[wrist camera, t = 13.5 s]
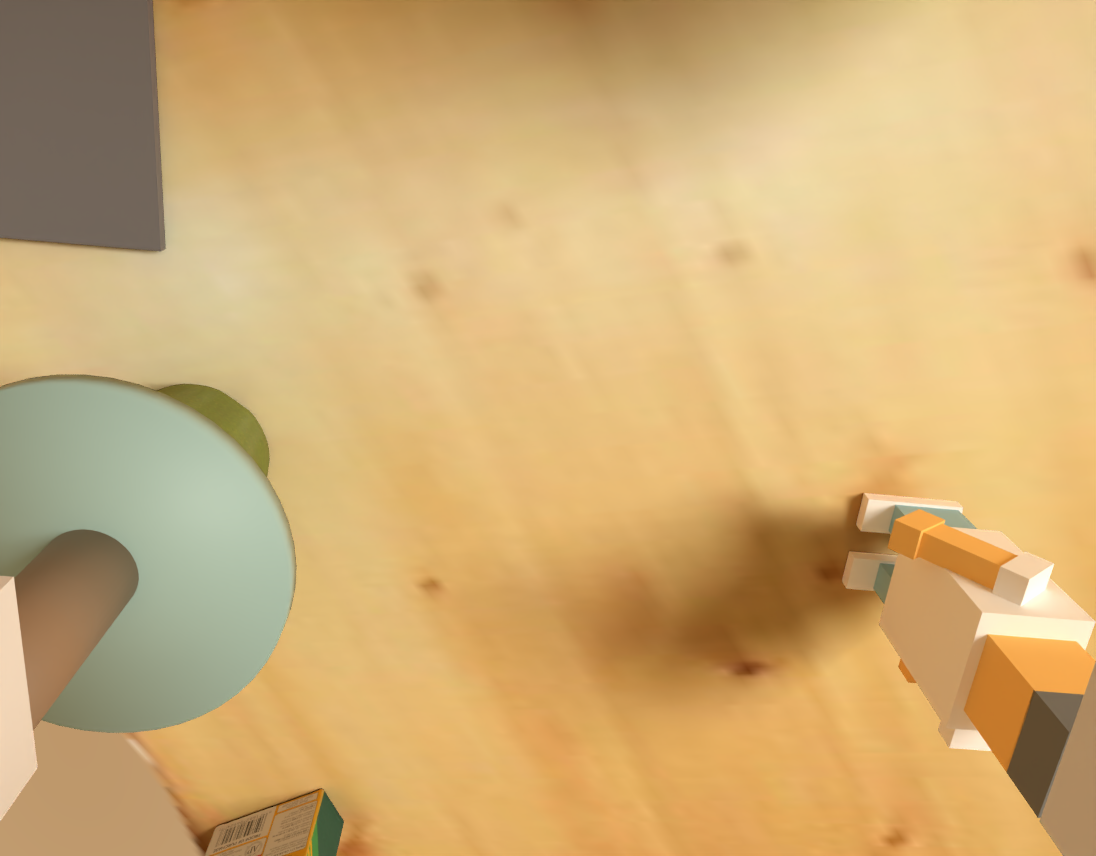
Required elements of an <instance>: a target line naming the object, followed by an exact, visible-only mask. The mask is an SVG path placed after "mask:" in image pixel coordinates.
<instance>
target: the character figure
mask: <svg viewBox="0 0 1096 856" xmlns="http://www.w3.org/2000/svg"><path fill="white" fill-rule="evenodd" d="M962 511H963V507H962V506H961V505H960V504H959V503H958V502H957V501H948V500H937V499H926V498H915V497H904V496H893V495H882V494H870V493H864V494H863V498H862V502H861V506H860V510H859V514H858V518H857V522H856V525H857V527H858V528H859V529H860V531H864V532H875V533H887V534H891V536H890V540H889V544H888V548H889V549H891V550H893V551H895V552H897V553H898V555H889V554H877V553H865V552H854V551H849V554H848V558H847V562H846V566H845V570H844V574H843V578H842V582H843V584H844V586H845V587H846V589H857V590H869V591H876V593H877V594H878V596H879V597H880V599H881V600H882V602H883V603H884V607H883V611H882V614H881V618H880V622H879V626H880V627H881V629H882V630H883V632H884V633H885V635H886V636H887V638H888V639H889V641H890V643H891V644H892V646H893V647H894V649H895V650H896V652H897V653H898V655H899V656H900V658H901V659H900V663H899V666H898V667H899V669H900V670H901V672H902V673H903V675H904V676H905V678H906V680H907V681H908V682H910V683H917V684H918V686H919V687H920V689H921V690H922V692H923V694H924V695H925V697H926V698H927V700H928V701H929V703H930V704H931V706H932V707H933V709H934V711H935V712H936V714H937V715H938V717H939V718H940V720H941V722H940V725H939V728H938V731H939V732H940V734H941V736H942V737H943V739H944V740H945V742H946V744H947V745H948V747H949V748H957V749H971V750H985V751H992V752H993V753H994V755H995V756H996V758H997V759H998V761H999V762H1000V764H1001V765H1002V766H1003V768H1004V769H1005V771H1006V772H1007V774H1008V775H1009V777H1010V778H1011V779H1012V781H1013V782H1014V784H1015V785H1016V787H1017V788H1018V790H1019V791H1020V792H1021V794H1022V795H1023V797H1024V798H1025V800H1026V801H1027V803H1028V804H1029V805H1030V807H1031V808H1032V810H1033V811H1034V813H1035V814H1036V816H1037V817H1038V818H1041V815H1042V813H1043V810H1044V807H1045V804H1046V801H1047V798H1048V796H1049V793H1050V790H1051V787H1052V784H1053V781H1054V778H1055V776H1056V773H1057V770H1058V767H1059V764H1060V761H1061V759H1062V756H1063V753H1064V750H1065V747H1066V744H1067V742H1068V739H1069V736H1070V733H1071V730H1072V727H1073V724H1074V722H1075V719H1076V716H1077V713H1078V710H1079V707H1080V705H1081V702H1082V699H1083V696H1084V693H1085V690H1086V688H1087V685H1088V682H1089V679H1090V676H1091V673H1092V671H1093V668H1094V665H1095V662H1096V661H1095V660H1094V659H1093V658H1092V657H1091V656H1090V655H1089V654H1088V653H1087V652H1086V651H1085V649H1086V647H1087V644H1088V641H1089V638H1090V636H1091V633H1092V630H1093V627H1094V625H1095V621H1094V620H1093V619H1092V618H1091V617H1090V616H1089V615H1088V614H1087V613H1086V612H1085V611H1084V610H1083V609H1082V608H1081V607H1080V606H1079V605H1078V604H1077V603H1076V602H1074V601H1073V600H1072V599H1071V598H1070V597H1069V596H1068V595H1067V594H1066V593H1065V592H1064V591H1063V590H1062V589H1061V588H1060V587H1059V586H1058V585H1057V584H1056V583H1055V582H1054V581H1053V580H1052V579H1050V578H1049V577H1050V574H1051V571H1052V568H1053V566H1054V563H1052V562H1049V561H1047V560H1045V559H1042V558H1040V557H1038V556H1035V555H1033V554H1030V553H1028V552H1024V553H1023V552H1022V551H1021V550H1020V549H1019V548H1018V547H1017V546H1016V545H1015V544H1014V543H1013V542H1012V541H1011V540H1010V539H1009V538H1008V537H1007V536H1006V535H1005V534H1003V533H1002V532H1001V531H991V530H980V529H977V528H976V527H975V526H974V525H973V524H972V523H971V522H970V521H969V520H968V519H967V518H966V517H965V516H964V515H963V514H962Z"/></svg>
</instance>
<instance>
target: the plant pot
mask: <svg viewBox="0 0 1096 856" xmlns="http://www.w3.org/2000/svg"><path fill="white" fill-rule="evenodd" d="M158 392H161V393H163V394H166V395H168V396H170V397H172V398H174V399H176V400H178V401H180V402H182V403H184V404H186V405H188V406H190V407H191V408H193V409H195V410H196V411H198V412H199V413H201V414H202V415H204V416H205V417H207V418H208V419H210V420H211V421H213V422H214V423H215V424H217V425H218V426H219V427H220V428H222V429H223V430H224V431H225V432H226V433H228V434H229V435H230V436H231V437H232V438H234V439H235V440H236V441H237V442H238V443H239V445H240V446H241V447H242V448H243V449H244V450H245V451H246V452H247V453H248V454H249V455H250V456H251V457H252V458H253V460H254V461H255V462H256V464H257V465H258V466H259V468H260V469H261V470H262V472H263V473H264V474H265V476H266V477H267V474H268V467H269V448H268V443H267V440H266V437H265V435H264V432H263V430H262V428H261V426H260V425H259V423H258V421H257V420H256V418H255V417H254V416H253V415H252V413H251V412H250V411H249V410H247V409H246V408H244V407H243V406H242V405H240V404H239V403H238V402H236V401H235V400H233V399H232V398H230V397H229V396H228V395H226V394H224V393H223V392H221V391H219V390H217V389H214V388H211V387H207V386H202V385H194V384H182V385H174V386H170V387H166V388H163V389H161V390H158Z"/></svg>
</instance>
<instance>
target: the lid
mask: <svg viewBox="0 0 1096 856" xmlns="http://www.w3.org/2000/svg"><path fill="white" fill-rule="evenodd" d="M0 576H11V577H14V582H15V590H16V598H17V606H18V614H19V622H20V630H21V638H22V646H23V654H24V662H25V670H26V679H27V687H28V695H29V703H30V711H31V719H32V727H33V730H34V729H35V728H36V726H37V725H38V724H39V722H40V721H41V720H43V721H46V722H49V723H53V724H56V725H59V726H65V727H69V728H74V729H80V730H85V731H96V732H107V733H127V732H141V731H149V730H157V729H161V728H165V727H170V726H174V725H178V724H181V723H184V722H187V721H189V720H192V719H195V718H197V717H200V716H202V715H204V714H206V713H208V712H210V711H212V710H214V709H216V708H218V707H219V706H221V705H222V704H224V703H225V702H227V701H228V700H230V699H231V698H232V697H234V696H235V695H237V694H238V693H239V692H240V691H241V690H242V689H243V688H244V687H245V686H246V685H248V684H249V683H250V682H251V681H252V680H253V679H254V678H255V676H256V675H257V674H258V672H259V671H260V670H261V669H262V667H263V666H264V665H265V664H266V662H267V660H268V659H269V657H270V655H271V653H272V652H273V650H274V648H275V646H276V645H277V642H278V640H279V638H280V635H281V633H282V631H283V628H284V626H285V623H286V620H287V618H288V615H289V612H290V610H291V606H292V601H293V597H294V592H295V584H296V557H295V547H294V541H293V537H292V533H291V529H290V525H289V522H288V519H287V517H286V514H285V512H284V509H283V507H282V504H281V502H280V499H279V498H278V496H277V494H276V492H275V491H274V489H273V487H272V485H271V484H270V482H269V480H268V478H267V477H266V476H265V474H264V473H263V472H262V470H261V469H260V468H259V466H258V465H257V464H256V462H255V461H254V460H253V458H252V457H251V456H250V455H249V454H248V453H247V452H246V451H245V450H244V449H243V448H242V447H241V446H240V445H239V443H238V442H237V441H236V440H235V439H234V438H232V437H231V436H230V435H229V434H228V433H226V432H225V431H224V430H223V429H222V428H220V427H219V426H218V425H217V424H215V423H214V422H213V421H211V420H210V419H208V418H207V417H205V416H204V415H202V414H201V413H199V412H198V411H196V410H195V409H193V408H191V407H190V406H188V405H186V404H184V403H182V402H180V401H178V400H176V399H174V398H172V397H170V396H168V395H166V394H163V393H161V392H158V391H155V390H152V389H150V388H147V387H144V386H141V385H139V384H135V383H130V382H126V381H122V380H118V379H114V378H108V377H99V376H91V375H50V376H43V377H35V378H29V379H25V380H21V381H17V382H14V383H10V384H6V385H4V386H1V387H0Z"/></svg>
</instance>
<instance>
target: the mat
mask: <svg viewBox="0 0 1096 856" xmlns="http://www.w3.org/2000/svg"><path fill="white" fill-rule="evenodd" d="M0 238H11V239H23V240H35V241H47V242H58V243H70V244H82V245H94V246H105V247H117V248H129V249H141V250H152V251H162V250H164V249H165V230H164V211H163V192H162V173H161V154H160V135H159V116H158V97H157V77H156V58H155V39H154V20H153V1H152V0H0Z"/></svg>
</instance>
